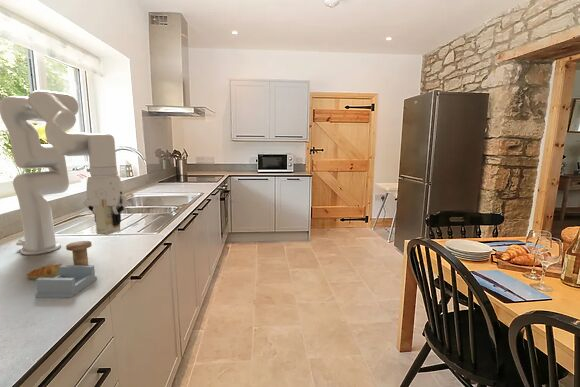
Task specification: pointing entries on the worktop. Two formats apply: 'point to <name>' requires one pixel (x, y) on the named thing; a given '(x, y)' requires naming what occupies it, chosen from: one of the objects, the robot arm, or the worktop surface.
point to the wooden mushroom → (79, 251)
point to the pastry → (44, 272)
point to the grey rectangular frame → (66, 282)
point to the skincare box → (105, 219)
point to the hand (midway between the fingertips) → (108, 224)
